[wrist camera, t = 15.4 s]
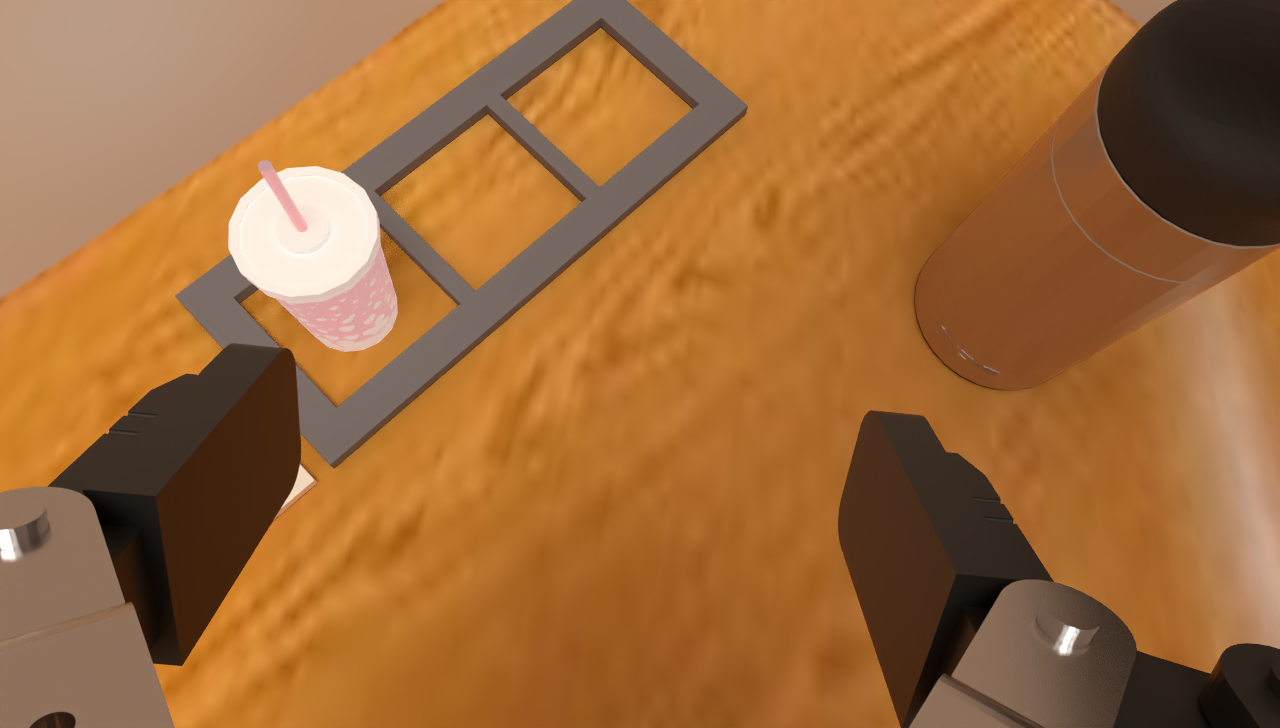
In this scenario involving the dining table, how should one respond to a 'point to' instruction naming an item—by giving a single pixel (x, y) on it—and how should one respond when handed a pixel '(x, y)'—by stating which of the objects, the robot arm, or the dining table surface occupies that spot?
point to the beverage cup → (316, 253)
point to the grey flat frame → (529, 272)
